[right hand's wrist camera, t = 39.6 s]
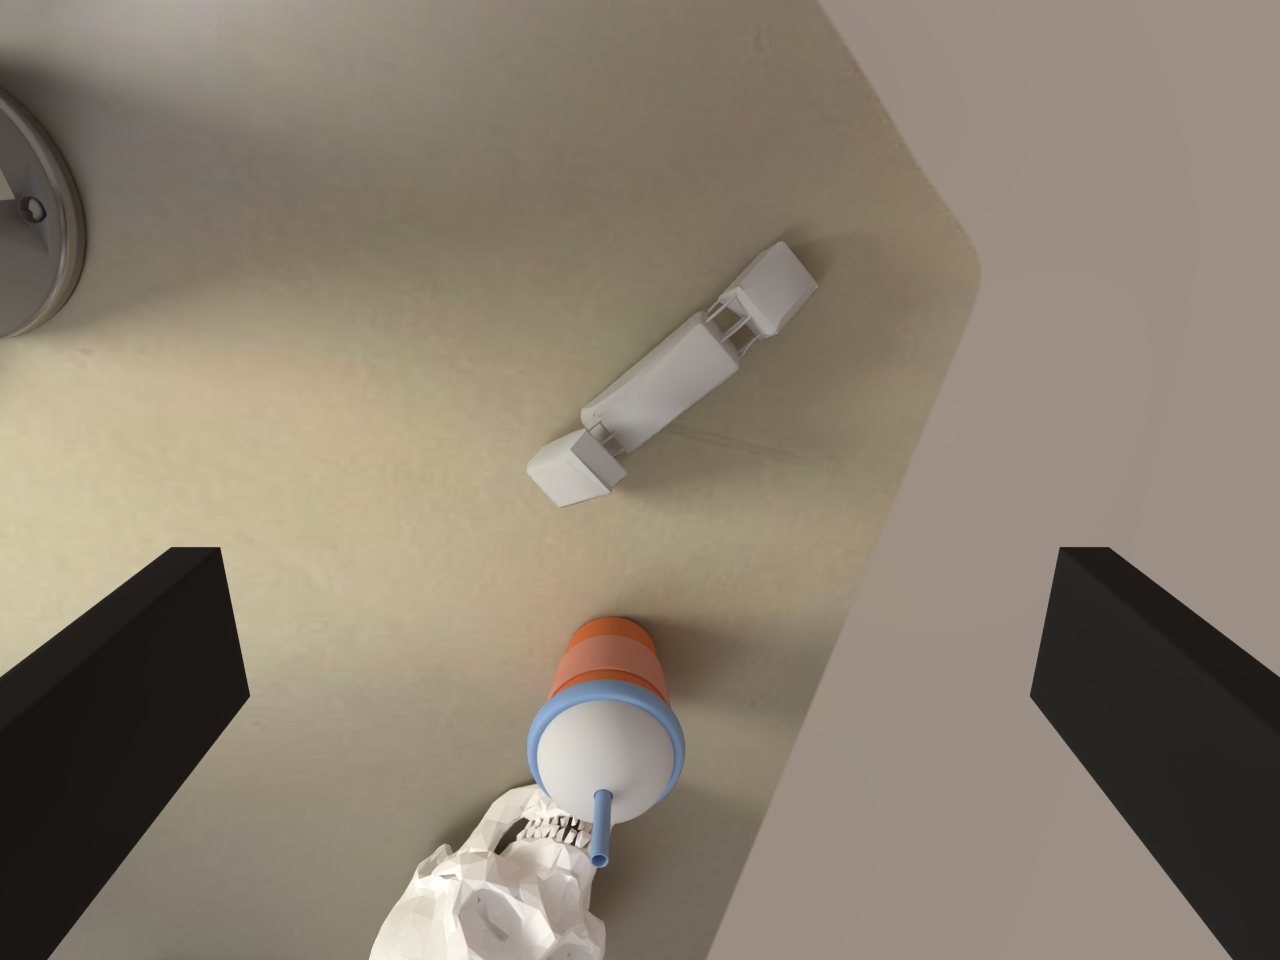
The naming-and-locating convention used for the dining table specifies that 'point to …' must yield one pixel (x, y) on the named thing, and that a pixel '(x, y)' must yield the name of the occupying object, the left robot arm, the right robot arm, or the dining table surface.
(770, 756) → the dining table surface
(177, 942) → the dining table surface
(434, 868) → the skull
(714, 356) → the white segmented block model
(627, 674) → the cup with straw
